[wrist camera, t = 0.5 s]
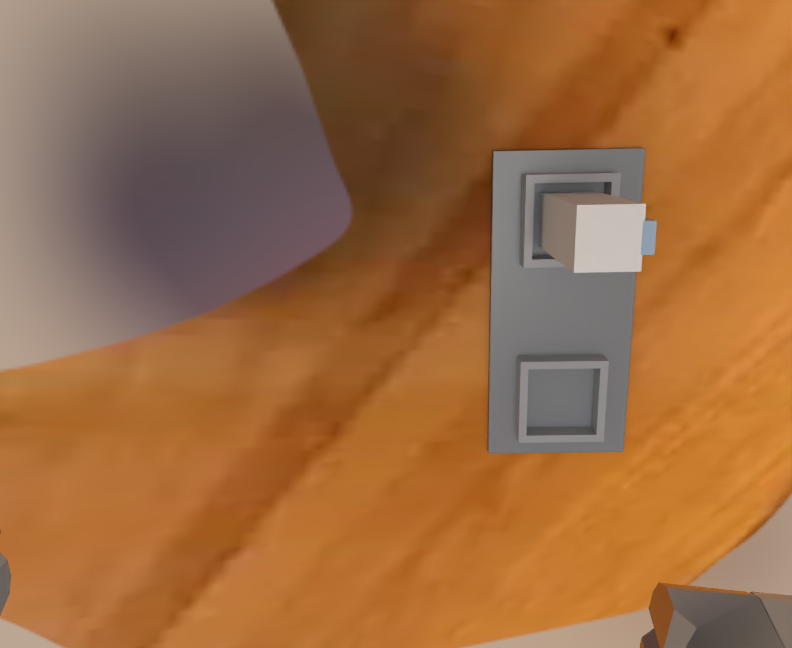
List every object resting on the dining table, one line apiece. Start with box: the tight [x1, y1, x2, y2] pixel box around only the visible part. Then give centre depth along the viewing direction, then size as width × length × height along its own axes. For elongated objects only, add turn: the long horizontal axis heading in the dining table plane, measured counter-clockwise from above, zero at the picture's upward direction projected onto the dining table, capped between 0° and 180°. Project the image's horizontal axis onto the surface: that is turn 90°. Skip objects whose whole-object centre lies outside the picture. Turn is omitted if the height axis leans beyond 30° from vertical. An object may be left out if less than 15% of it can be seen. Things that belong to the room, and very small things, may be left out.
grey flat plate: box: [488, 148, 645, 453], centre depth 52 cm, size 24×11×2 cm, turn 1°
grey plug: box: [539, 191, 657, 273], centre depth 45 cm, size 4×5×11 cm
